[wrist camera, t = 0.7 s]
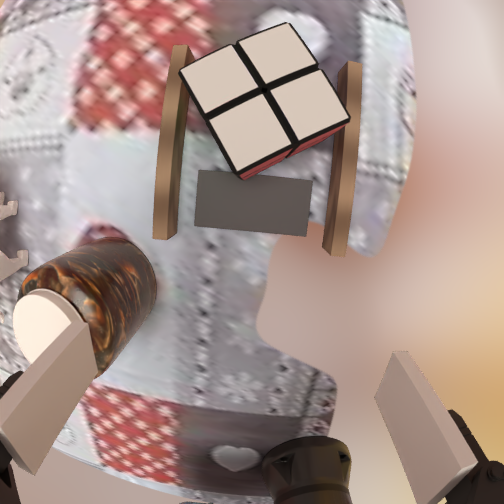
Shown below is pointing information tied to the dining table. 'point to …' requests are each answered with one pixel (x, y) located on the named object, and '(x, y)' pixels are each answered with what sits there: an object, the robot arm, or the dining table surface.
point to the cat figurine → (3, 265)
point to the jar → (86, 298)
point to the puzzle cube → (264, 99)
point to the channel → (174, 141)
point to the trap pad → (253, 203)
